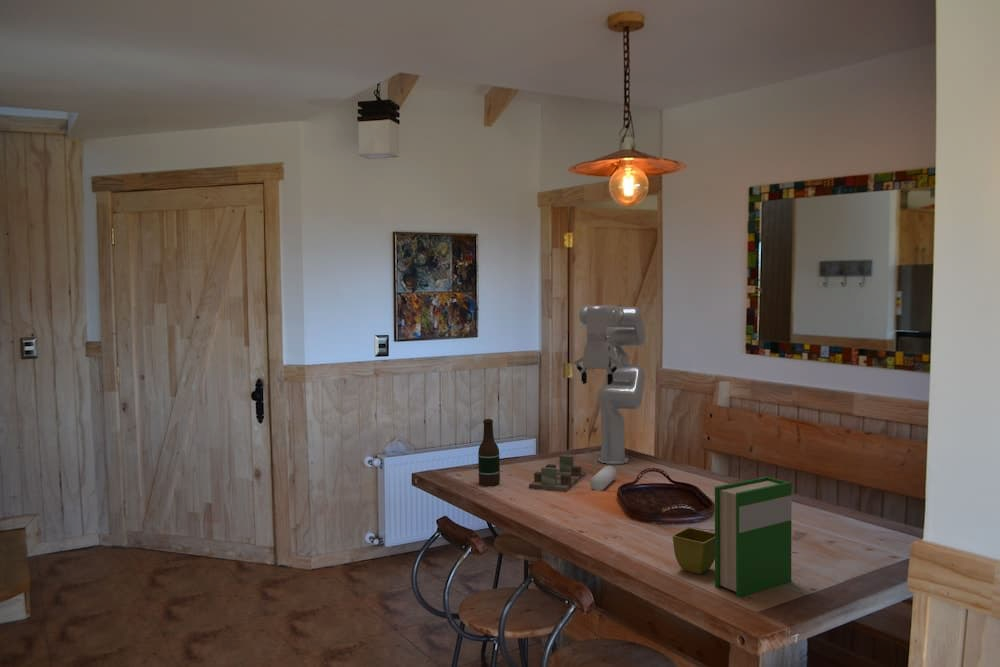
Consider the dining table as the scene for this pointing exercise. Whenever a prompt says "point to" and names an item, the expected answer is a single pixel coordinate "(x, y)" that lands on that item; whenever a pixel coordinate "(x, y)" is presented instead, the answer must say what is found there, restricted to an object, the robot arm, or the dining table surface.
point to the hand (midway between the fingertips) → (597, 383)
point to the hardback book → (753, 535)
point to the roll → (603, 478)
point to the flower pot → (694, 549)
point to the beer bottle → (488, 457)
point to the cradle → (558, 475)
